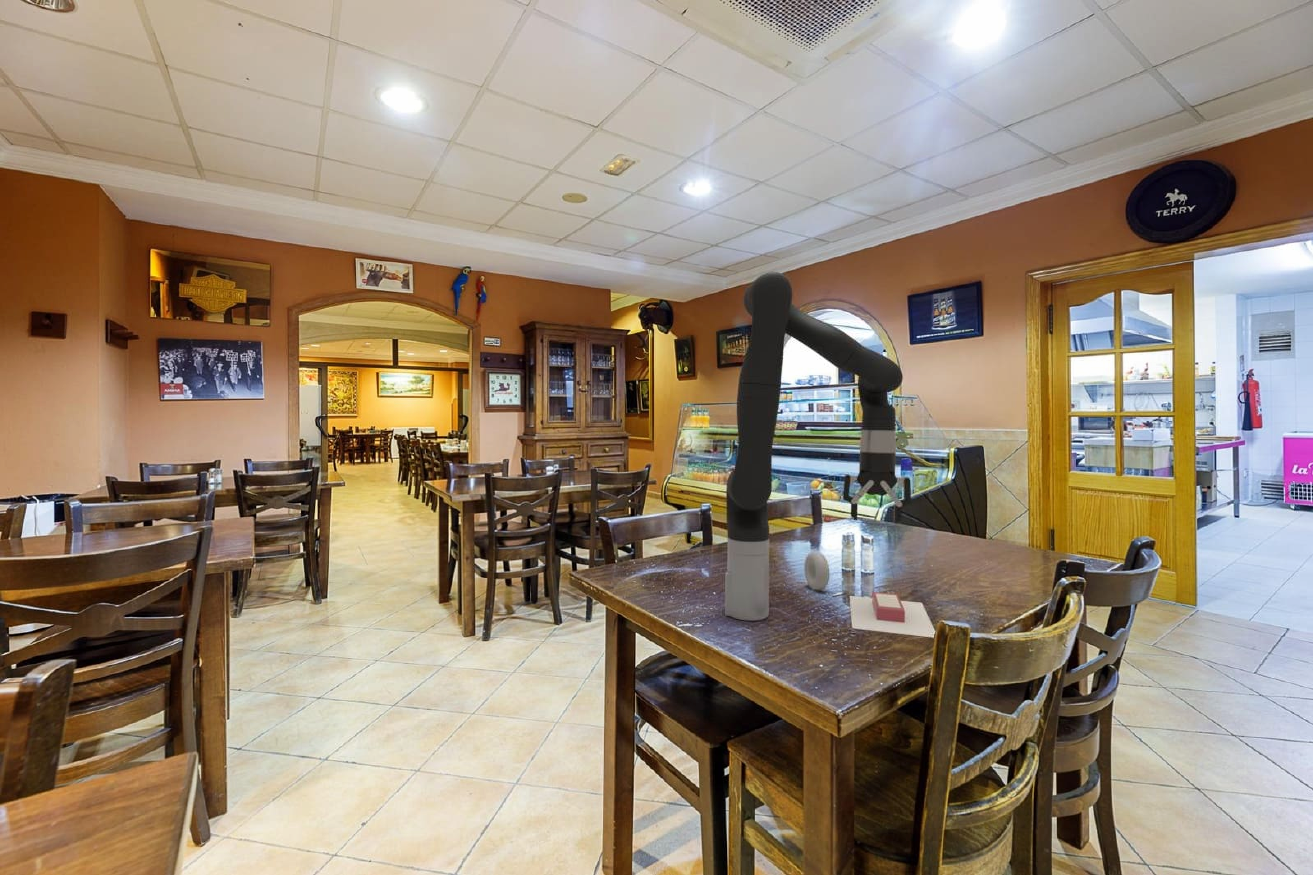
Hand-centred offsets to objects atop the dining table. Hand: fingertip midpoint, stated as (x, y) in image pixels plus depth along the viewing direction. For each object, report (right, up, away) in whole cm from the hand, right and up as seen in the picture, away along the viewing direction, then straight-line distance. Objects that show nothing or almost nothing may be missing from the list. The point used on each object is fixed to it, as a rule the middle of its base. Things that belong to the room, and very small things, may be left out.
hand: (875, 521), depth 123 cm
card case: (+4, -19, +4) cm, 19 cm away
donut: (-9, -20, +16) cm, 27 cm away
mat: (+2, -21, -4) cm, 21 cm away
